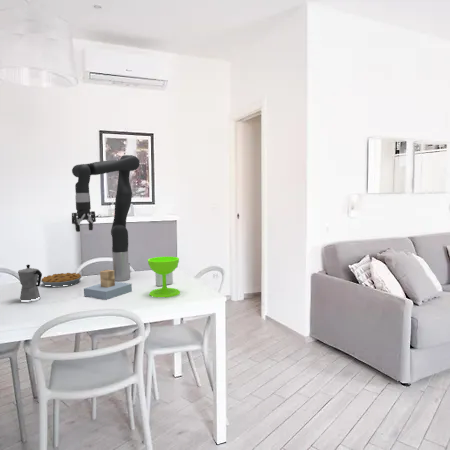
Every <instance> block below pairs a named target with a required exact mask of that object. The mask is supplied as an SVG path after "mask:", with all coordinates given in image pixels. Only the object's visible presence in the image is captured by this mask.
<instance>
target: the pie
mask: <svg viewBox="0 0 450 450" xmlns="http://www.w3.org/2000/svg"><path fill="white" fill-rule="evenodd" d="M81 278H82V275H81V274H80V272H78V273H76V272H72V273H71V272H66V273H54V274H52V275H49V274H48V275H47V276H43V277H41V282H40V283H42V284H43V285H51V286H63V285H70V286H72V285H71V284H74V285H76V284H75V283H77V284H78V283H79V282H80V280H81Z"/></svg>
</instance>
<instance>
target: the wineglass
mask: <svg viewBox="0 0 450 450" xmlns="http://www.w3.org/2000/svg"><path fill="white" fill-rule="evenodd" d="M147 262H148V266H149V268H150V269H151V271H152V272H153V273H154V274H155V273H157V274H160V275H162V282H163V285H162V286H161V287H160V288H156V289H152V290H151V291H150V292H149V294H148V295H149V296H150V295H151V296H150V297H152V296H153V297H152V298H158V297H165V298H172V297H176V296H178V295H180V293H181V291H180V289H178V288H175V287H174V288H173V287H167V285H166V274H169V273H171V272H172V273H173V272H175V270H176V269H177V267H178V266H179V262H180V257H176V256H156V257H151V258H150V257H149V258H148V259H147Z"/></svg>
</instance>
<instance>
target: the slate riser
mask: <svg viewBox="0 0 450 450" xmlns="http://www.w3.org/2000/svg"><path fill="white" fill-rule="evenodd" d="M132 285H133V284H132V283H127V282H123V281H115V286H111V287H108V288H107V287H101V283H97V284H94V285H90V286H87V287H84V288H83V296H84V297H88V298H94V299H101V300H110V299H113V298H115V297H118V296H122V295H125V294H127V293H131V292H133V287H132Z"/></svg>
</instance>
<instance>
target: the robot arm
mask: <svg viewBox="0 0 450 450" xmlns="http://www.w3.org/2000/svg"><path fill="white" fill-rule="evenodd" d="M140 163H141V161H140V160H139V158H138V157H137V156H136V155H133V154H132V155H131V154H130V155H129V154H126V155H125V154H124V155H122V156H121V157H120V158H119V159H117V160H116V159H115V160H114V159H113V160H101V161H95V162H91V163H90V162H89V163H81V164H76V165H74V166H73V167H72V169H71V173H72V175H73V176H74V177H75V178H78V179H77V182H76V183H75V186H74V187H75V190H74V191H75V195H74V196H75V199H74V200H75V210H76V212H71V224H72V225H74V226H75V231H76V233H80V232H81V225H80V224H81V223H82V221H87V222H88V231H93V229H94V223H95V222H97V221H96V220H97V219H96V212H95V210H94V211H92V210H91V209H92V208H91V207H92V206H91V193H90V181H91V176H97V175H103V174H104V175H105V174H109V173H114V172H118V175H117V176H118V177H117V186H116V193H115V203H114V217H113V221H112V226H111V229H110V234H111V237H112V238H111V240H112V241H111V242H112V246H111V251H112V255H111V256H112V270H114V277H115V282H124V281H128V280H129V279H131V265H130V264H131V263H130V262H129V231H128V229H127V217H128V213H129V211H130V209H131V206H132V204H131V203H132V199H133V190H132V186H131V182H130V173H131V172H133V171H136V170H138V168H139V167H140Z"/></svg>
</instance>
